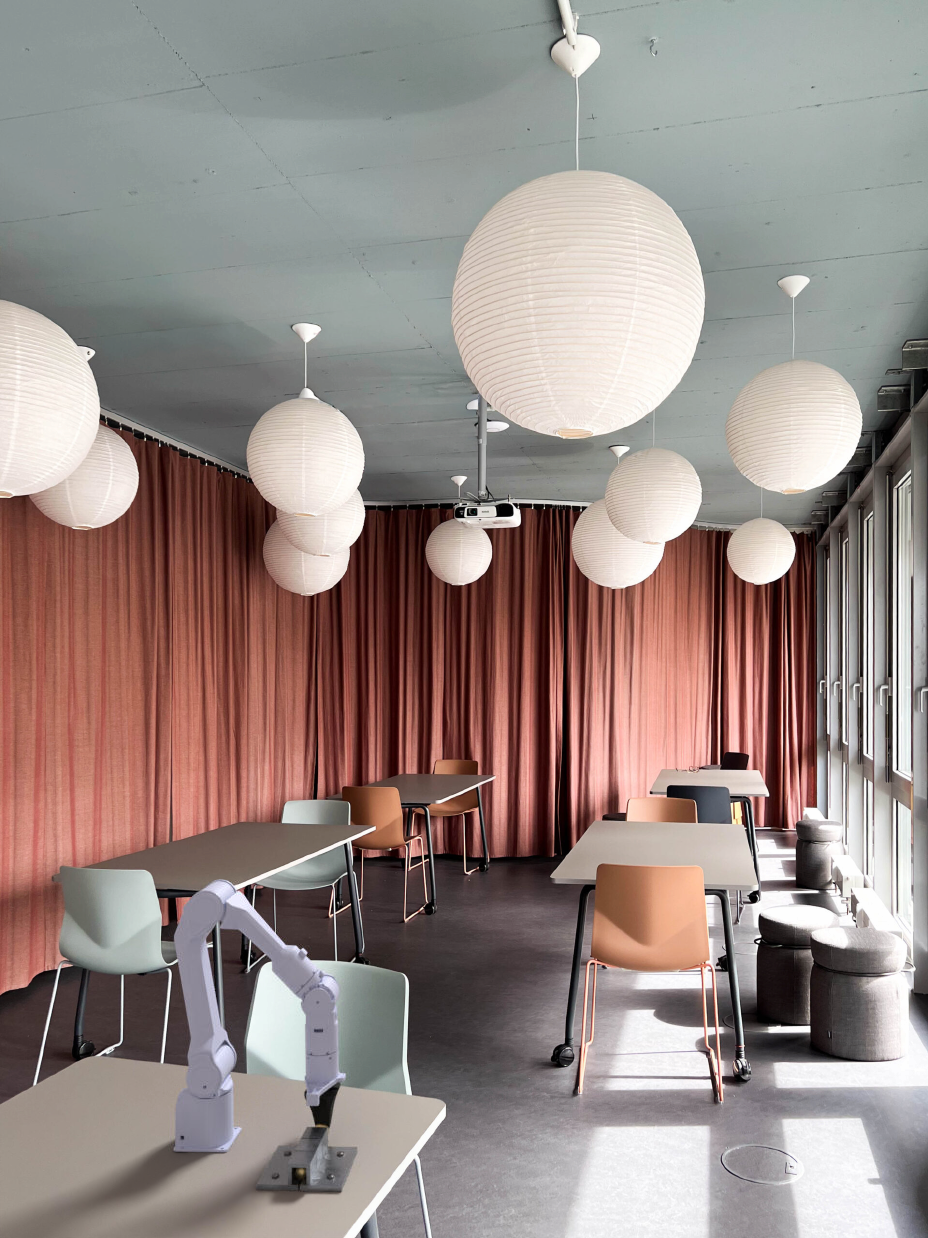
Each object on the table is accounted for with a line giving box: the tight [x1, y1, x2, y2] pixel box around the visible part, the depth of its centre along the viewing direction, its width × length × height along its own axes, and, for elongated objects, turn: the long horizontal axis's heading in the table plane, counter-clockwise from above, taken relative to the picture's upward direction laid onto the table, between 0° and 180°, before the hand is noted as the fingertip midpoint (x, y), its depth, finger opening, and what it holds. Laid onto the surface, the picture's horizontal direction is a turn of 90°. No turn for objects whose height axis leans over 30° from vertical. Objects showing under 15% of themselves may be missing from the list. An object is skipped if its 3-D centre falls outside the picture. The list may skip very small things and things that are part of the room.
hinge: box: [256, 1126, 358, 1192], centre depth 150 cm, size 14×12×4 cm
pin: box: [295, 1123, 330, 1179], centre depth 152 cm, size 3×14×3 cm, turn 175°
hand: (323, 1130), depth 160 cm, fingers closed
